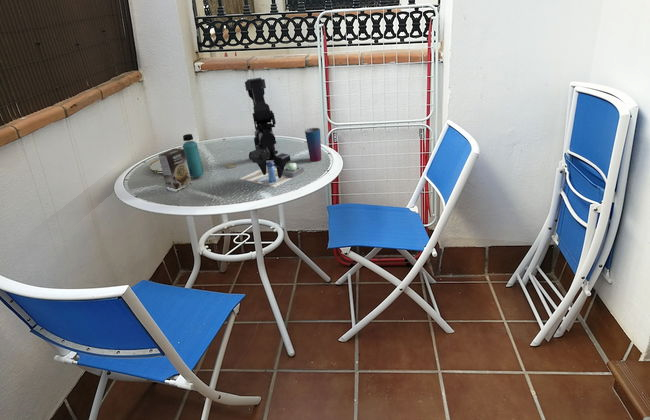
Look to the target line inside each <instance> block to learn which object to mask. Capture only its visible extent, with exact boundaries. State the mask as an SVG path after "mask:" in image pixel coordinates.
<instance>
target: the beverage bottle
mask: <svg viewBox="0 0 650 420" xmlns="http://www.w3.org/2000/svg"><path fill="white" fill-rule="evenodd" d="M182 138H183V139H182V140H183V141H184V143H183V145H182V149H184V152H185V156H186V160H187V165H188V169H189V173H190V178H197V177H201V176H203V175H204V172H205V171H204V167H203V162H202V158H201V155H200V152H199V148H198V143H197V142H195V141H193V140H194V136H193V134H192V133H186V134H184V135H183V136H182Z"/></svg>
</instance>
